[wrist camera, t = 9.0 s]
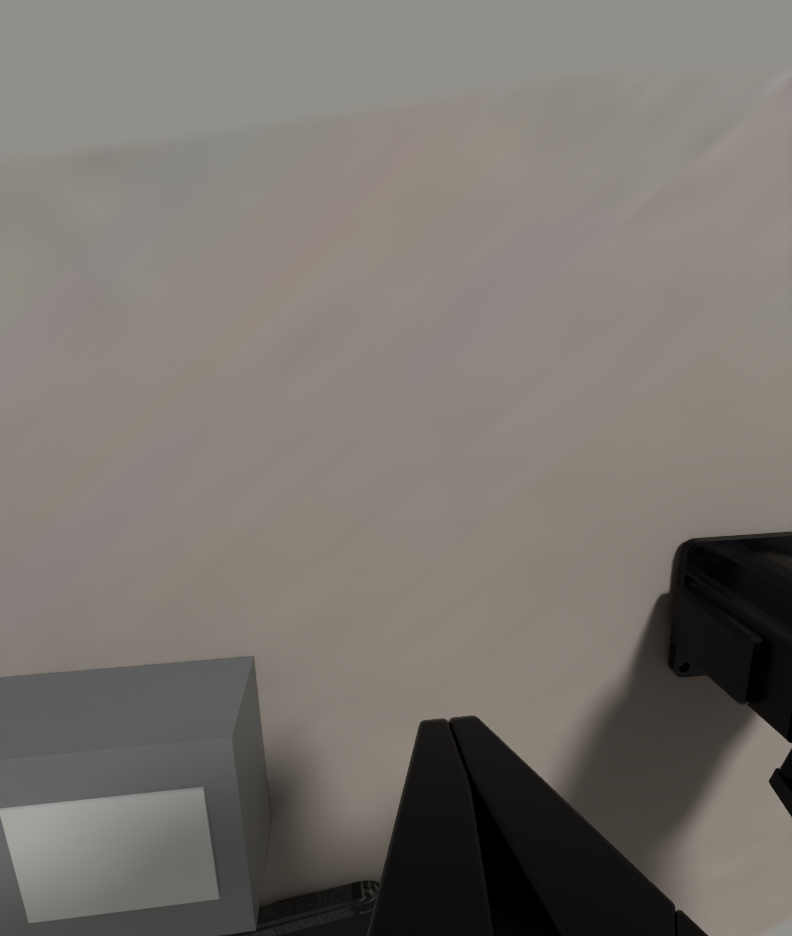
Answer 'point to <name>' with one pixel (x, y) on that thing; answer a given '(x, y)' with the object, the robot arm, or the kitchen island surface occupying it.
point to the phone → (320, 913)
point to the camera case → (133, 801)
